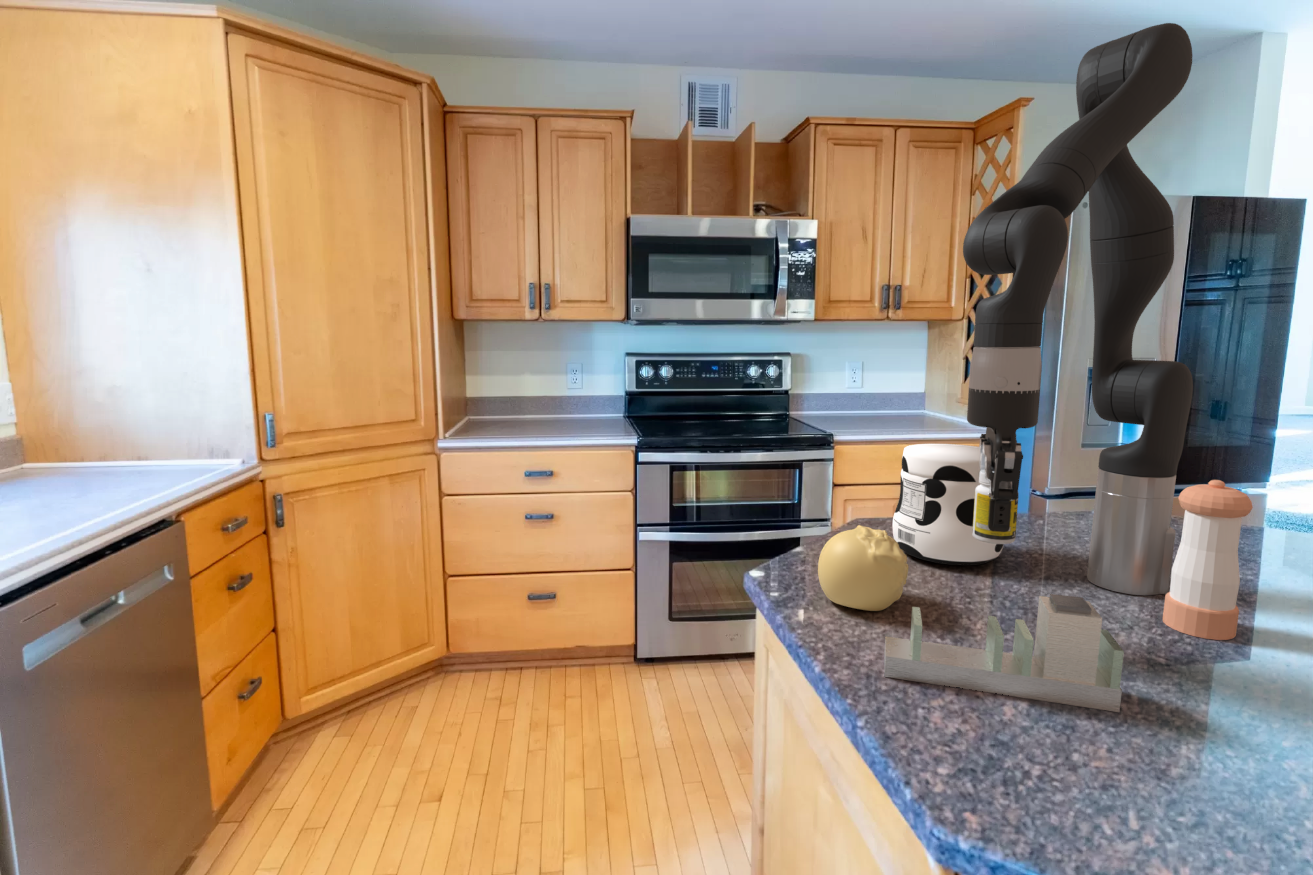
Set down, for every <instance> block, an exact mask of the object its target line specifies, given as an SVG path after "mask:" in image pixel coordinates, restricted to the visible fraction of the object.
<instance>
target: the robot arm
mask: <svg viewBox="0 0 1313 875" xmlns="http://www.w3.org/2000/svg"><path fill="white" fill-rule="evenodd" d="M1191 42H1192V41H1191V40H1190V36H1189V34H1188V32H1187V30H1186V29H1185V28H1184V27H1182V25H1179V24H1178V23H1173V22H1165V23H1160V24H1155V25H1153V26H1149V27H1145V28H1143V29H1140V30H1138V31H1135V32H1132V33H1129V34H1127V35H1124V36H1122V37H1119V38H1116V39H1112V40H1110V41H1107V42H1104V43H1102V44H1099V45H1097V46H1094V47H1093V48H1091V49H1088V50H1087V52H1085V53H1084V55H1083V56H1082V58H1081V60H1080V62H1079V65H1078V67H1077V72H1076V73H1077V74H1076V81H1075V83H1076V84H1075V92H1076V96H1075V97H1076V104H1077V113H1078V120H1077V121H1075V122H1074V123H1072V124H1071V125H1069V127H1067V128H1066V129H1065V130H1063V131H1062V132H1061V133H1059V134H1058V135H1057V136H1056V137H1055V138H1054V139H1053V140H1051V141H1050V142H1049V143H1048V144H1047V145H1046V146H1045V147H1044V148H1043V150H1042V151H1041V152H1040V153H1039V154H1038V156H1037V157H1036V159H1035V160H1034V161H1033V162H1032V164H1031V165H1030V167H1029V168H1028V169H1027V171H1026V172H1025V173H1024V175H1023V176H1022V178H1021V179H1020V180H1019V181H1018V182H1017V183H1015V184H1014V185H1013V186H1011V187H1010V188H1008V189H1007V190H1006V191H1004V192H1003V193H1002V194H1001V195H999V196H998V197H997V198H996V199H994V201H992V202H991V203H990V204H989V205H987V206H986V207H985V208H984V209H983V210H982V211H981V212H980V213H979V214H978V215H977V216H976V217H975V218H974V220H973V221H972V223H971V224H970V225H969V227H968V229H967V231H966V233H965V235H964V239H963V243H962V245H963V246H962V254H963V255H962V256H963V258H964V262H965V263H966V265H967V267H969V269H970V270H971V271H973V272H974V273H977V274H979V275H986V276H995V275H1007V274H1014V275H1013V278H1012V279H1011V282H1010V283H1009V285H1008V287H1007V288H1006V290H1004V291H1002V292H1000V293H997V294H994V295H990V296H987V297H985V298H983V299H982V300H980V301H979V302H978V303H977V305H976V309H975V316H974V317H975V318H974V329H973V330H974V331H973V332H974V334H973V349H972V355H971V360H970V366H969V376H968V378H969V379H968V380H969V381H968V395H967V411H966V412H967V414H966V419H967V423H968V424H970V425H972V426H975V427H979V428H986V429H985V433H981V435H980V436H979V445H978V447H980V463H979V467H980V471H981V470H985V479H986V480H987V481H989V493H988V497H989V499H990V501H989V516H988V527H989V529H990V530H991V531H997V532H1007V531H1009V528H1010V514H1011V501H1013V500H1017V497H1018V498H1019V496H1018V493H1019V486H1020V478H1021V470H1022V462H1023V459H1024V454H1023V451H1022V443H1021V442H1018V440H1017V430H1019V429H1030V428H1034V427H1036V426H1037V424H1038V423H1039V409H1040V398H1041V397H1040V395H1041V385H1042V371H1043V370H1042V369H1043V368H1042V366H1043V365H1042V362H1043V361H1042V349H1041V348H1042V347H1041V346H1042V337H1043V336H1042V335H1043V323H1044V313H1045V308H1046V305H1047V304H1048V299H1049V297H1050V294H1051V292H1052V288H1053V286H1054V282H1055V279H1056V278H1057V274H1058V272H1059V270H1060V267H1061V265H1062V262H1063V259H1064V257H1065V253H1066V250H1067V247H1068V238H1069V236H1068V235H1069V231H1068V226H1067V222H1066V220H1065V219H1066V218H1068V217H1069V216H1070V215H1071V214H1072V213H1074V212H1075V210H1076V209H1077V208H1078V206H1079V205H1080V203H1081V202H1082V201H1083V199H1084V198H1085V197H1086V195H1087V194H1088V205H1089V206H1088V208H1089V247H1090V249H1089V250H1090V251H1089V252H1090V265H1091V266H1090V268H1091V274H1092V275H1091V276H1092V286H1093V287H1092V289H1093V311H1094V327H1093V329H1094V331H1093V335H1094V336H1093V349H1092V350H1093V351H1092V353H1093V355H1092V369H1091V371H1092V372H1091V397H1092V398H1091V399H1092V404H1093V407H1094V411H1095V412H1096V414H1097V416H1099V418H1101V419H1103V420H1104V421H1108V422H1113V423H1120V424H1130V425H1139V426H1143V428H1142V431H1141V435H1140V436H1139V438H1138V439H1136V440H1133V442H1129V443H1126V444H1122V445H1116V446H1114V445H1113V446H1109V447H1106V448H1104V449H1101V451H1100V453H1099V458H1098V468H1097V475H1096V476H1097V477H1096V488H1095V496H1094V506H1093V516H1092V524H1091V526H1092V527H1091V534H1090V544H1089V554H1088V555H1089V556H1088V562H1087V574H1086V575H1087V576H1086V578H1087V581H1089V582H1090V583H1092V584H1094V585H1096V586H1098V587H1100V588H1103V589H1106V590H1109V591H1112V592H1118V593H1122V594H1128V595H1134V596H1136V595H1137V596H1155V595H1166V594H1167V593H1168V592H1170V584H1171V572H1172V566H1173V560H1174V557H1173V556H1174V549H1175V542H1176V541H1175V540H1176V529H1174V528H1173V527H1171V521H1172V514H1173V506H1174V497H1175V488H1176V481H1177V480H1176V479H1177V471H1178V466H1179V464H1180V459H1181V456H1182V453H1183V449H1184V443H1185V438H1186V432H1187V431H1186V430H1187V426H1188V421H1189V415H1190V411H1191V406H1192V401H1193V400H1192V399H1193V393H1194V392H1193V391H1194V380H1193V375H1192V372H1191V370H1190V369H1189V367H1188V366H1187V365H1186V364H1184V362H1179V361H1174V360H1173V361H1172V360H1153V359H1152V360H1150V359H1133V340H1134V339H1133V338H1134V334H1135V329H1136V327H1137V326H1136V325H1137V324H1138V322H1139V320H1140V318H1141V316H1142V314H1143V313H1144V311H1145V309H1146V308H1147V307H1148V305H1149V304H1150V302H1151V301H1152V300H1153V298H1154V297H1155V295H1156V294H1157V293H1158V291H1159V290H1160V288H1161V287H1162V285H1163V283H1164V282H1165V281H1166V279H1167V278H1168V275H1169V274H1170V272H1171V270H1172V267H1173V264H1174V261H1175V231H1174V230H1175V229H1174V225H1175V223H1174V220H1175V219H1174V213H1173V210H1172V207H1171V205H1170V204H1169V202H1168V201H1167V199H1166V198H1165V196H1164V195H1163V194H1162V193H1161V192H1162V191H1160V190H1159V189H1158V187H1157V186H1156V185H1155V184H1154V183H1153V182H1152V180H1151V179H1150V178H1149V177H1148V176H1147V175H1146V174H1145V173H1144V171H1143V170H1142V169H1141V168H1140V167H1139V165H1138V164H1137V162H1136V161H1135V160H1134V158H1133V156H1132V154H1131V152H1130V150H1129V147H1128V144H1129V143H1130V142H1131V141H1132V140H1133V139H1134V138H1135V137H1137V135H1138V134H1140V132H1141V131H1142V130H1144V129H1145V128H1146V126H1147V125H1149V123H1151V122H1152V121H1153V119H1155V117H1157V115H1159V114H1161V112H1162V111H1163V110H1164V109H1166V108H1167V107H1168V105H1170V104H1171V103H1172V102H1173V101H1174V100H1175V99H1176V98H1177V97H1178V96H1179V94H1180V93H1181V92H1182V91H1183V89H1184V87H1185V86H1186V83H1187V81H1188V79H1189V78H1190V77H1189V76H1190V73H1191V71H1192V66H1193V65H1192V64H1193V46H1192V43H1191ZM992 471H994V473H993V472H992ZM979 475H980V473H979ZM1002 481H1006V482H1007V483H1008V489H1002V488H999V483H1000V482H1002Z"/></svg>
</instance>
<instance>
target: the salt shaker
mask: <svg viewBox="0 0 1313 875" xmlns="http://www.w3.org/2000/svg"><path fill="white" fill-rule="evenodd" d="M1178 502H1179V505H1180V507H1181V508H1182V509H1183V510H1184V515H1183V524H1182V531H1181V540H1180V543H1179V546H1178V549H1177V552H1176V556H1175V557H1174V561H1173V562H1172V567H1171V575H1170V583H1169V591H1168V593H1167V594H1164V595H1165V596H1164V604H1163V611H1162V612H1163V614H1162V622H1163V624H1164V625H1166V626H1167V627H1169V628H1171V629H1172V630H1175V631H1177V632H1179V633H1181V634H1186V635H1189V636H1193V637H1195V638H1196V637H1197V638H1201V639H1207V640H1217V641H1227V640H1232V639H1234V638H1235V637H1236V635H1237V631H1238V630H1237V629H1238V624H1239V623H1238V622H1239V616H1240V610H1239V607H1238V605H1237V600H1238V594H1239V588H1240V582H1241V580H1240V579H1241V578H1240V567H1239V566H1240V564H1239V552H1238V551H1239V544H1240V536H1241V530H1242V529H1241V528H1242V520H1243V519H1242V518H1245V517H1247V516H1249V514H1250V513H1251V511H1252V510H1253V508H1254V507H1253V502H1252V500H1251V499H1250V498H1249V496H1248V494H1247V493H1245V492H1243V491H1242V490H1239V489H1236V488H1234V487H1230V486H1226V483H1225V481H1222V480H1220V479H1211V480H1210V481H1209V482H1207V484H1205V483H1203V484H1194V485H1190V486H1188V487H1185V488H1184V489H1183V490H1182V491H1181V492H1180V493H1179V495H1178Z"/></svg>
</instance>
